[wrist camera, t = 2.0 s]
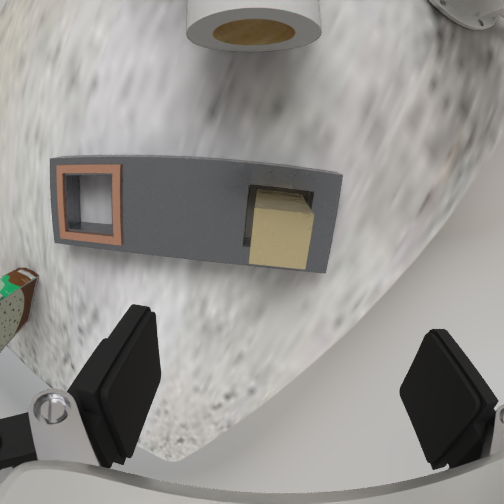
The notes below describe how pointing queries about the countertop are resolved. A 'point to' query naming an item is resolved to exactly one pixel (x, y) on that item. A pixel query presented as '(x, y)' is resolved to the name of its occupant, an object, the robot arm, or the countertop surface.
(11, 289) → the food container
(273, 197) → the tan wooden block
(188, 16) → the toilet paper
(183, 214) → the rail
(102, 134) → the countertop surface
